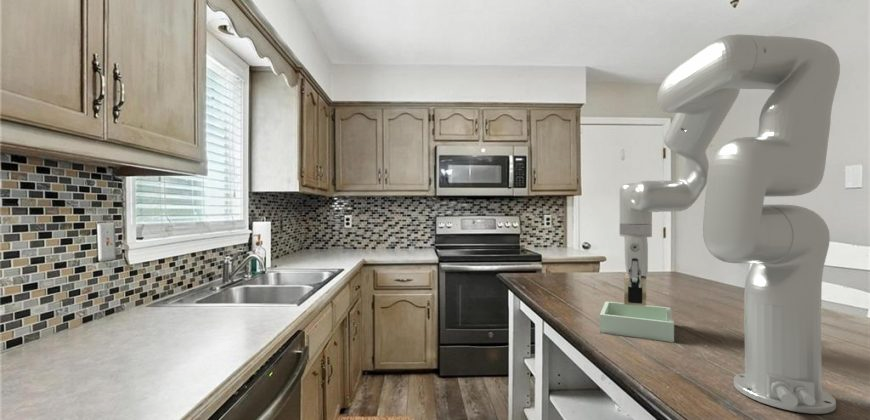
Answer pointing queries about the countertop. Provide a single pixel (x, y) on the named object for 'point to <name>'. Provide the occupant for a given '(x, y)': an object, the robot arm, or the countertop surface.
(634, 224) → the robot arm
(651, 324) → the bin
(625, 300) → the beech block
